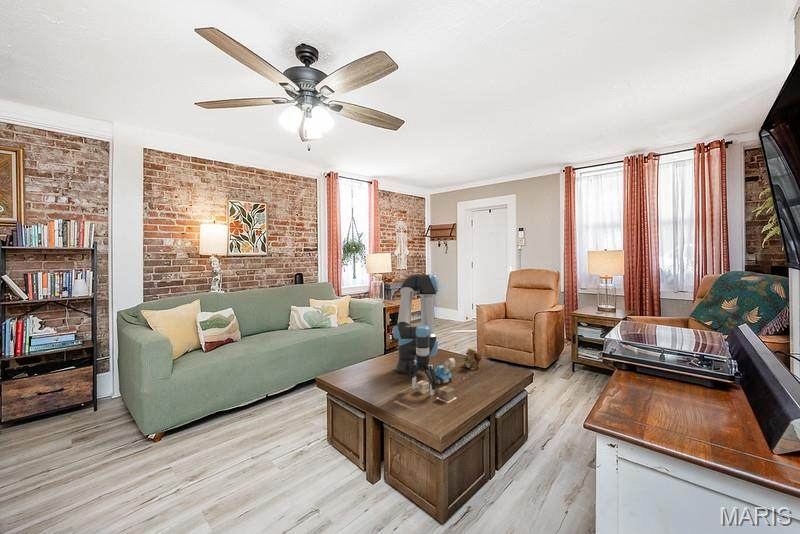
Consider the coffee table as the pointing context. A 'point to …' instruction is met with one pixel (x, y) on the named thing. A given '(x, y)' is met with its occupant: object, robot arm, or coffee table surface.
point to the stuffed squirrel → (472, 359)
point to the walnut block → (446, 393)
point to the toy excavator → (444, 371)
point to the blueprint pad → (446, 401)
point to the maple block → (422, 387)
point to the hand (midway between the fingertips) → (423, 391)
